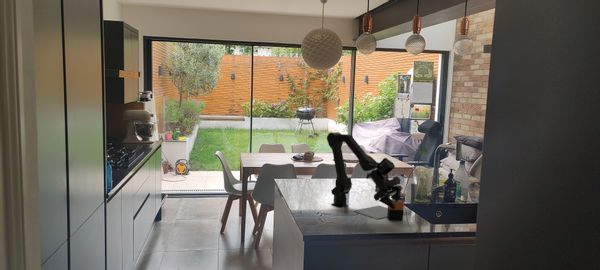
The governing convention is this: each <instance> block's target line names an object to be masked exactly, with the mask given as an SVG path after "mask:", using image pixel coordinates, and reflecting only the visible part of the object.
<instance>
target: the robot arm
mask: <svg viewBox="0 0 600 270" xmlns="http://www.w3.org/2000/svg"><path fill="white" fill-rule="evenodd" d="M354 138H355V137H354V136H353V135H352V134H350V133H349V134H344V133H341V132H339V131H337V132H330V133H328V134H327V136H326V141H327V144H328V146H329V148H330V149H331V150H332V156H333V161H334V167H335V173H336V179H335V186H334V188H332V189H331V191H330V192H331V195H333V203H331V204H330V205H332V206H334V207H337V208H344V207H347V206H349V205H348V204H347V194H349V193H350V191H351V189H352V185H353V183H352V178H351V177H348V176H347V173H346V167H345V166H346V165H345V161H344V156H343V151H342V150H343V149H342V147H343V143H345V144H346V145H347V146H348V147H347V148H349V149H350V151H351V152H352V153H353V155H354V156H355V157H356V158H357V160H358V164H359V166H360V168H361V169H362V170H363V171H364V172H367V173H366V179H367V180H368V179H371V180H372V182H373V183H374V184H375V186H374V187H375V189H376V188H378V189H379V191H378V192H375V194H373V199H374V201H375V202H376V201H378V203H379V202H381V203H382V204H384V205H386V206H387V207H388V206H389V207H391V208H392V209H395V206H394V204H393V203H392V201H391V199H395V201H398V200H402V198H401V192H402V190H403V187H402V185H401V184H402V183H401V180H402V179H401V178H400V177H399V176H398V175H397V176H394V177H393V179H389V178H388V179H385V177H384V176H383V175H387V174H388V175H389V174H390V173H391V172H392V171H394V169H396V166H395V164H394V162H392V161H391V160H390V159H388V158H387V157H385V158H383V159H382V160H381V161H380V162H378V161H376V159H374V158H373V157H372V156H370V155H369V154H367V153H366V152H365V151H364V150H363V148H362V146H361V145H360V144H359V143H358V142H357V140H356V139H354Z"/></svg>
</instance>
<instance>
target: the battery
mask: <svg viewBox="0 0 600 270" xmlns="http://www.w3.org/2000/svg"><path fill="white" fill-rule="evenodd" d="M390 199H391V201H392V203H393V204H394V206H395V209H392V208H391V207H389V206H387V208H388V213H387V217H386V218H387V220H388V221H390V222H403V220H404V209H405V203H404V202H403V200H402V199H401V200H398V201H395V199H392V198H390Z"/></svg>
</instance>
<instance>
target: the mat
mask: <svg viewBox="0 0 600 270" xmlns="http://www.w3.org/2000/svg"><path fill="white" fill-rule="evenodd" d="M353 212H354V213H357V214H360V215H362V216H365V217H368V218H372V219H374V220H382V219H385V218H387V213H388V207H386V206H382V205H375V206H370V207H365V208H361V209H355V210H353Z"/></svg>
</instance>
